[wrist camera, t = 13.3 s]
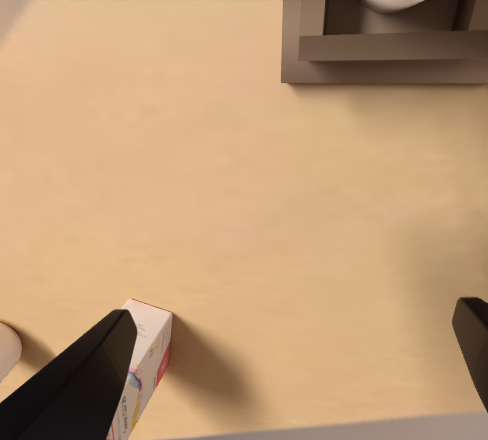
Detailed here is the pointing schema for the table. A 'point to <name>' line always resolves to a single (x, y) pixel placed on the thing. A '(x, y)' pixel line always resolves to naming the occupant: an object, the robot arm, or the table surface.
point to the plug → (389, 5)
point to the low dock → (384, 42)
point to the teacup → (8, 350)
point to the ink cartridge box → (142, 365)
